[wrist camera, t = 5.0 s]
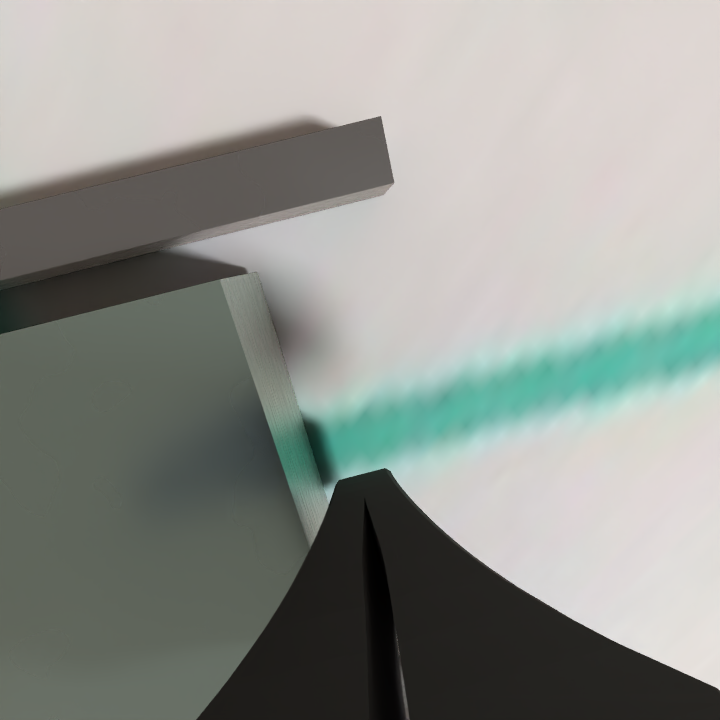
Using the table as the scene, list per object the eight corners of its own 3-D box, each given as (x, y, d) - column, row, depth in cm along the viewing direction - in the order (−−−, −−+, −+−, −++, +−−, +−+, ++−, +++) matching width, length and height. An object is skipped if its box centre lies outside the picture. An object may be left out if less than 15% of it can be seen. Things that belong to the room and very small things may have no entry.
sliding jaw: (372, 648, 12) (389, 785, 9) (78, 729, 12) (-11, 898, 9) (256, 271, 9) (219, 279, 6) (-147, 373, 9) (-415, 437, 6)
